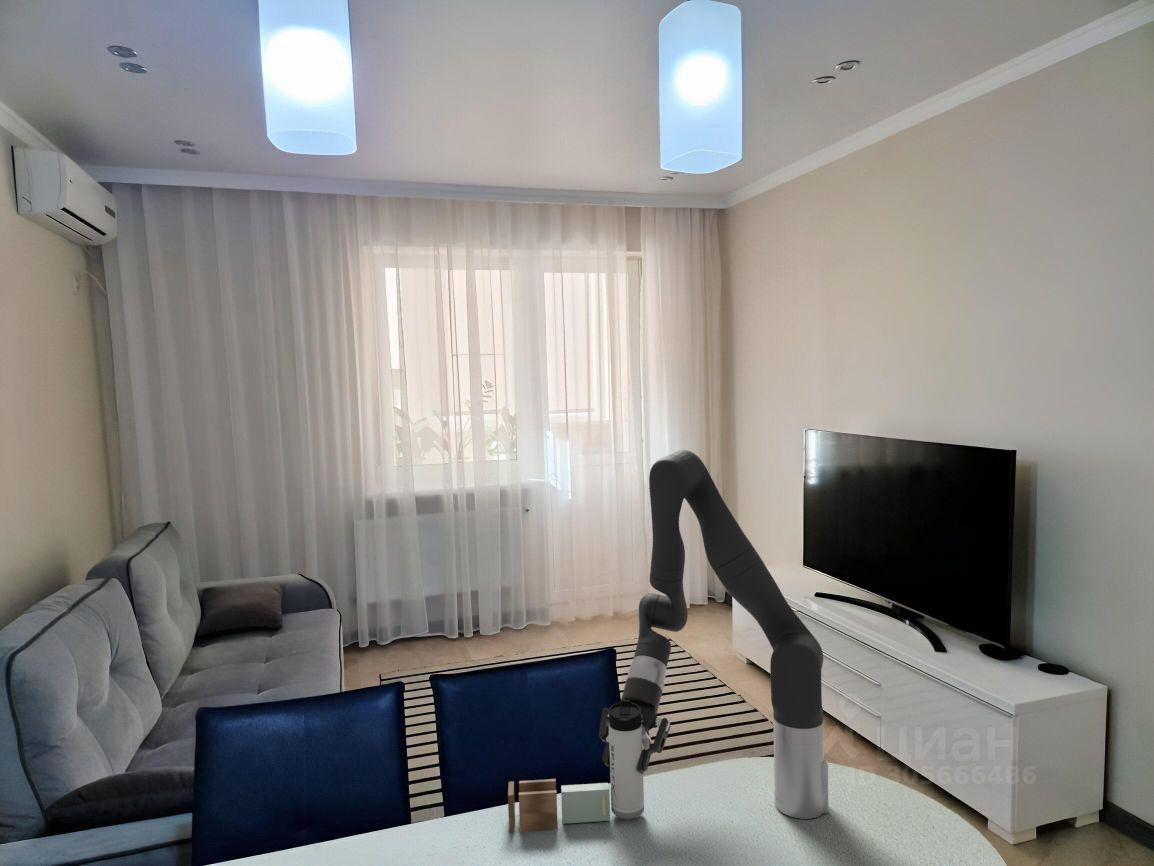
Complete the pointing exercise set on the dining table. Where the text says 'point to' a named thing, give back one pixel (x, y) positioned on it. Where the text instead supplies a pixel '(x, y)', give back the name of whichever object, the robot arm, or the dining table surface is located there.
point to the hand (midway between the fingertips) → (623, 768)
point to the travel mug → (625, 759)
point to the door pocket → (534, 805)
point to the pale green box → (585, 803)
